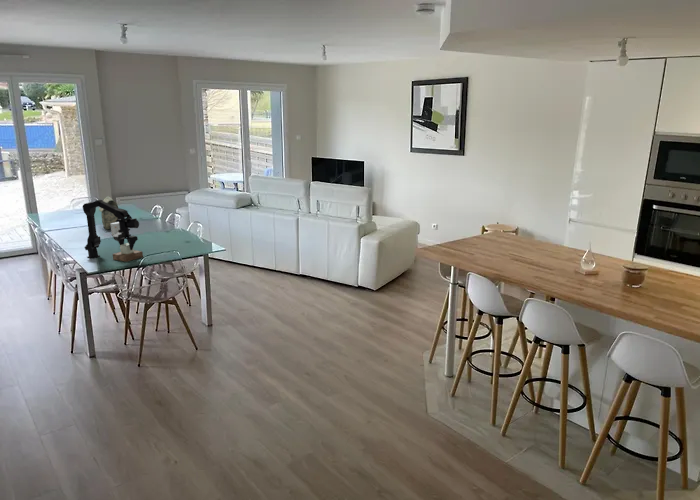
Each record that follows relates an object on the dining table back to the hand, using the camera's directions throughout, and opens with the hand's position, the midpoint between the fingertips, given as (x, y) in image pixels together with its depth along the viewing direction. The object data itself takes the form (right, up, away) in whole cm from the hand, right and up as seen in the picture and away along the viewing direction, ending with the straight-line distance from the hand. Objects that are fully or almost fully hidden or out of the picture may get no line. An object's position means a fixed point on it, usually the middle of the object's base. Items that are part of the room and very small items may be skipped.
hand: (127, 249), depth 362 cm
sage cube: (0, -2, +1) cm, 2 cm away
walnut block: (0, -6, +2) cm, 6 cm away
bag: (-60, +20, +105) cm, 123 cm away
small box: (-40, +12, +74) cm, 85 cm away
